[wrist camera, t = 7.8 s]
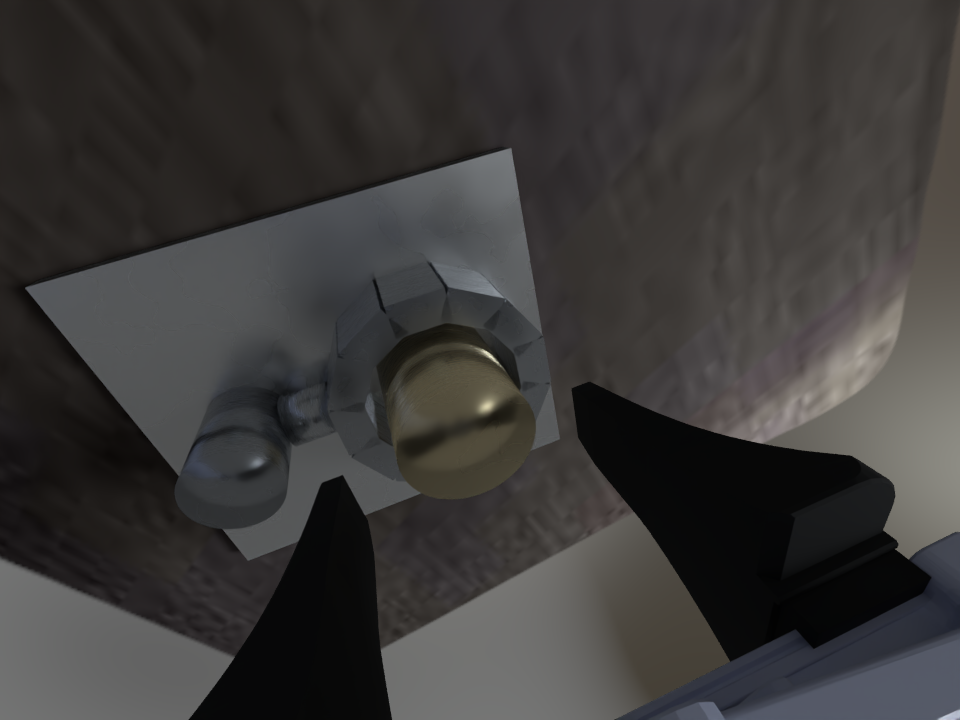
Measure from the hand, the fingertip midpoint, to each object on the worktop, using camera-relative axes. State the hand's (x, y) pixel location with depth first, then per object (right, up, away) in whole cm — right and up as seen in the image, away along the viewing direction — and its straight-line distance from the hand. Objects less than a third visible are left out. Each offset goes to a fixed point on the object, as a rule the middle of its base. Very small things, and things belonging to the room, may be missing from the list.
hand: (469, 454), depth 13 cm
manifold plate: (-5, +2, +6) cm, 8 cm away
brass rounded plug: (-2, +3, +5) cm, 6 cm away
